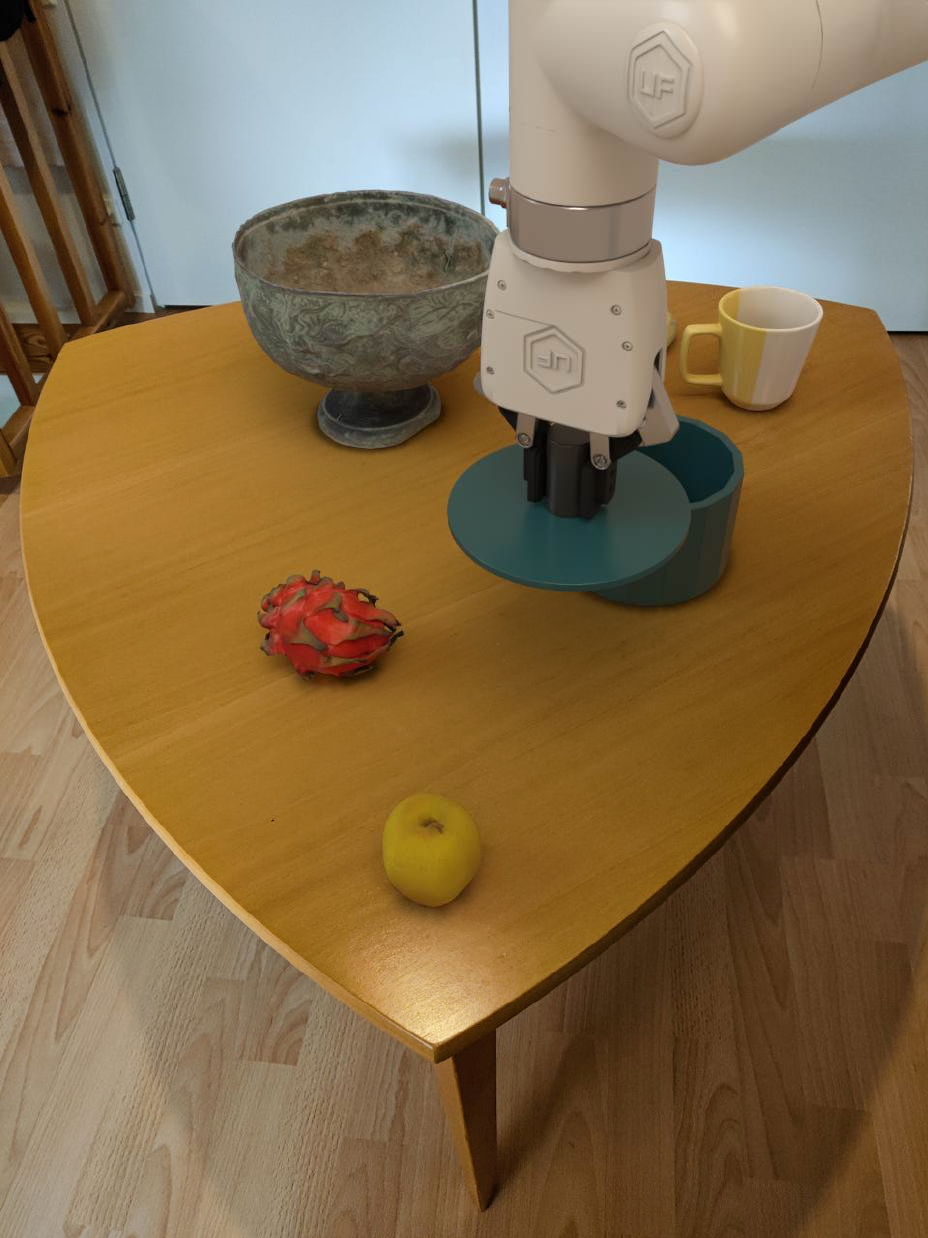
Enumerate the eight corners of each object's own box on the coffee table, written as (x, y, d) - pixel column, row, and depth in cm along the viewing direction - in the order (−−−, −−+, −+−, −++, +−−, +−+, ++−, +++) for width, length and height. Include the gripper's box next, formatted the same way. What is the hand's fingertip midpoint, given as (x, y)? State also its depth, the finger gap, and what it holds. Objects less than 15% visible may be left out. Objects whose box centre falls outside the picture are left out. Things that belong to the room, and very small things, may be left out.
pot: (748, 529, 91) (766, 436, 84) (691, 627, 82) (707, 532, 75) (602, 487, 97) (608, 396, 90) (534, 574, 88) (535, 481, 81)
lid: (722, 487, 68) (738, 401, 63) (631, 631, 58) (641, 542, 53) (516, 430, 74) (516, 347, 69) (402, 551, 64) (393, 465, 59)
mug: (798, 374, 111) (817, 284, 103) (808, 425, 103) (829, 331, 96) (673, 370, 112) (683, 281, 105) (674, 419, 105) (685, 327, 98)
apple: (473, 934, 63) (469, 864, 58) (376, 918, 64) (362, 847, 59) (491, 849, 68) (489, 776, 62) (400, 835, 69) (390, 762, 63)
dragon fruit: (261, 655, 84) (399, 686, 83) (228, 674, 76) (381, 709, 75) (279, 556, 83) (419, 587, 82) (247, 565, 74) (403, 599, 74)
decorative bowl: (214, 399, 111) (178, 220, 97) (403, 330, 122) (396, 161, 108) (342, 519, 96) (322, 328, 82) (544, 427, 107) (557, 246, 93)
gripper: (410, 215, 53) (430, 495, 66) (706, 273, 47) (665, 571, 59) (479, 168, 57) (485, 438, 70) (757, 215, 51) (709, 503, 64)
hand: (568, 497), depth 65 cm, fingers closed on lid, 3 cm apart
